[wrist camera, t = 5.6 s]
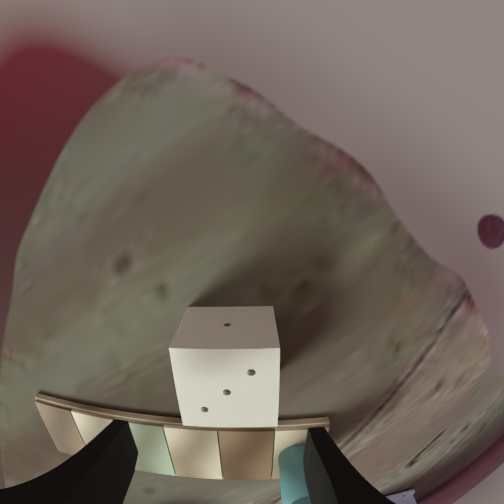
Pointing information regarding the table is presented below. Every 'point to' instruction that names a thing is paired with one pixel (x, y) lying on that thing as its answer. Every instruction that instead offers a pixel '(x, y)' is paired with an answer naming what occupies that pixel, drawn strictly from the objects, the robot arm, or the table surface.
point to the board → (180, 441)
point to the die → (227, 367)
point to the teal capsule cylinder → (293, 475)
